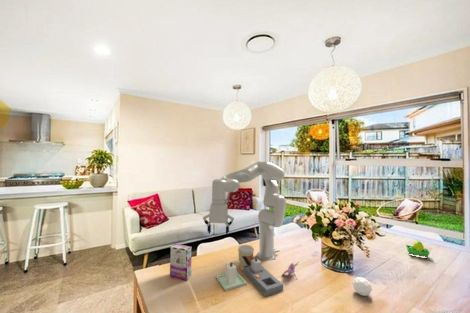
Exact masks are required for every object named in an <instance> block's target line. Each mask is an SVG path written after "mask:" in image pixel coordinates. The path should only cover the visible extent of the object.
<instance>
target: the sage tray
mask: <svg viewBox="0 0 470 313" xmlns="http://www.w3.org/2000/svg"><path fill="white" fill-rule="evenodd" d="M216 280H217V281H218V283H219V284H220V285H221V287H222V289H224V292H226V291H230V290H233V289H236V288H239V287H242V286H247V281H246V280H245V279H244V278H243V276H241V275H240V273H239V272H238V271H237V270H236V282H235V283H232V284H229V283H228V282H227V281H226V272H225V273H223V274H217V275H216Z"/></svg>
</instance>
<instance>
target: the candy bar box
mask: <svg viewBox="0 0 470 313" xmlns="http://www.w3.org/2000/svg"><path fill="white" fill-rule="evenodd" d="M169 248H170V250H169V251H170V252H169V253H170V254H169V260H170V262H169V277H171V278H175V279H179V280H183V281H188V280H189V278H190V277H191V276H192V250H193V249H192V248H193V247H192V246H190V245H189V246H188V245H184V244H177V243H176V244H173V245H172V246H170V247H169Z"/></svg>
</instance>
